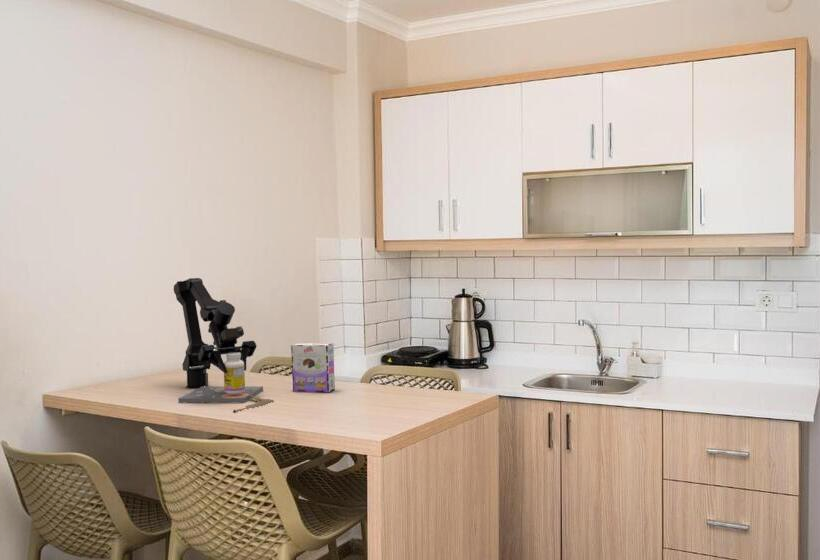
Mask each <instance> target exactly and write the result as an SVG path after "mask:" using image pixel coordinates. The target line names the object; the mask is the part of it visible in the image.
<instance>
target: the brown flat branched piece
mask: <svg viewBox="0 0 820 560" xmlns="http://www.w3.org/2000/svg"><path fill="white" fill-rule="evenodd" d="M250 397H252V398H251V399H254V401H256V402H254V403H251V404H248V405H245V407H243V408H238V409H233V410H232V413H239V412H238V411H240V412H243V411H245V410H244V409H247V410H250V409H249V408H252V409H256V408H255V407H257V408H260V407H259V406H261V407H264V406H267V405H269V404H271V402H272V403H274V402H275V400H274V399H268V398H266V399H265V398H261V397H259V396H257V395H256V396H251V395H250ZM268 403H269V404H268ZM266 404H267V405H266ZM263 405H264V406H263ZM242 410H243V411H242ZM234 411H235V412H234Z"/></svg>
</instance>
